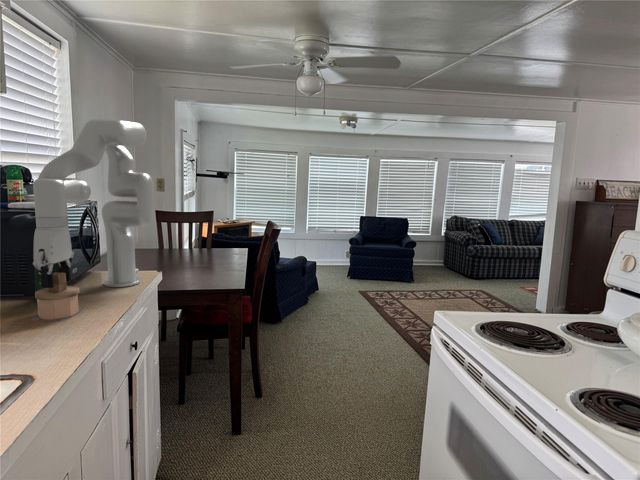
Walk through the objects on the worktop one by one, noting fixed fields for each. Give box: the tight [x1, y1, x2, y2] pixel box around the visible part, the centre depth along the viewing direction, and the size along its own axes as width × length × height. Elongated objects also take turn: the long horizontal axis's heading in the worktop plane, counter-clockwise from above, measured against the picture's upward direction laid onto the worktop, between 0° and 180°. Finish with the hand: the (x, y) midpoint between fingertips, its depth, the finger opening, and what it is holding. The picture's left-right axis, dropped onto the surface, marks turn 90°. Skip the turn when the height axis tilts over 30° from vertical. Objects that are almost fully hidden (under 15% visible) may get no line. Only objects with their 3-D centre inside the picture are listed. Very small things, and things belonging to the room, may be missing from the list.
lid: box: [34, 272, 80, 300], centre depth 116 cm, size 11×11×6 cm
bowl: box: [36, 294, 79, 320], centre depth 116 cm, size 9×9×6 cm
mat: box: [29, 309, 86, 322], centre depth 117 cm, size 10×10×1 cm
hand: (56, 283), depth 115 cm, fingers open, 6 cm apart
